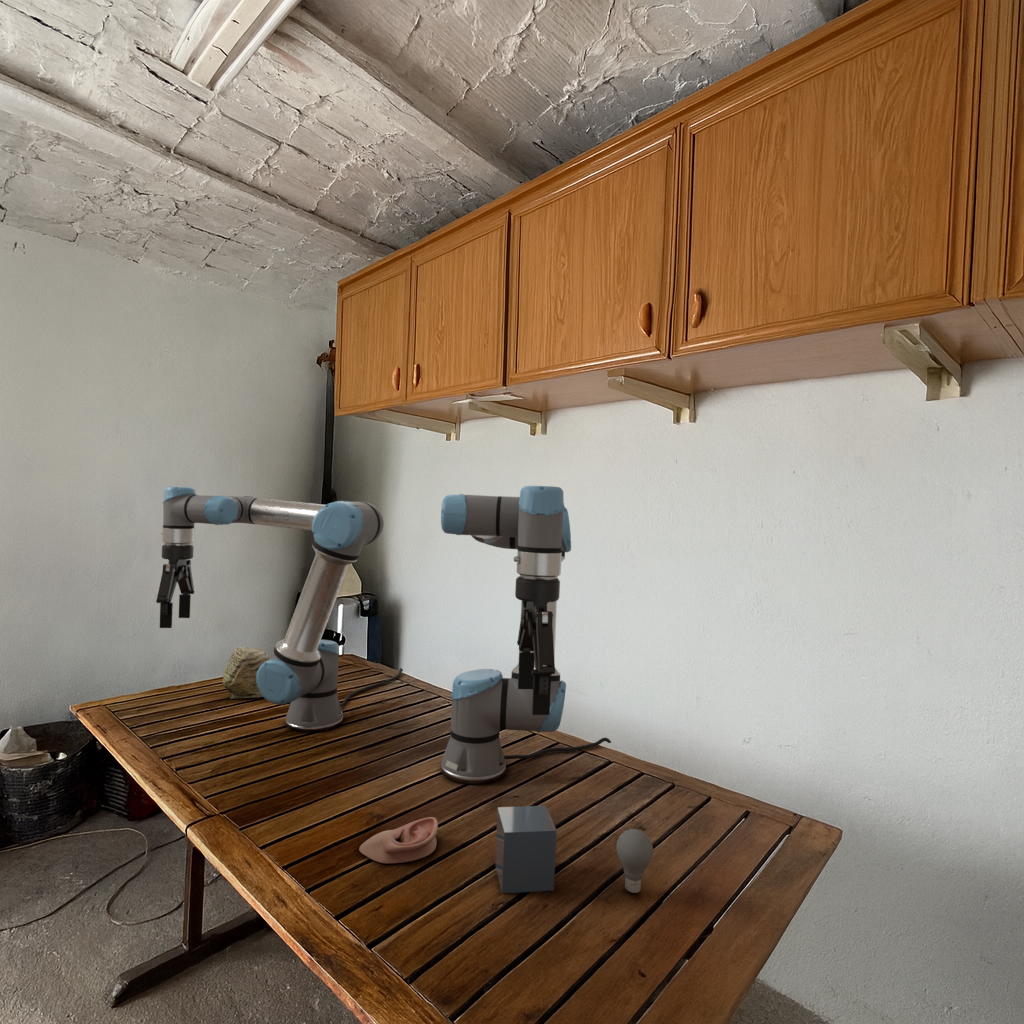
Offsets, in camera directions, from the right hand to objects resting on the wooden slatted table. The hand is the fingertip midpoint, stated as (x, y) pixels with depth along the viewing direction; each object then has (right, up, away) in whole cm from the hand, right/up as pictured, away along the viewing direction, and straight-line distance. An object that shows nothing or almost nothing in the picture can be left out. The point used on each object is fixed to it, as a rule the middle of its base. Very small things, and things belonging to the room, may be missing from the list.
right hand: (532, 700), depth 108 cm
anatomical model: (-24, -29, +8) cm, 39 cm away
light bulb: (+17, -31, -2) cm, 35 cm away
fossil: (-84, -25, +90) cm, 126 cm away
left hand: (-94, +2, +63) cm, 113 cm away
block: (-2, -30, +1) cm, 30 cm away
